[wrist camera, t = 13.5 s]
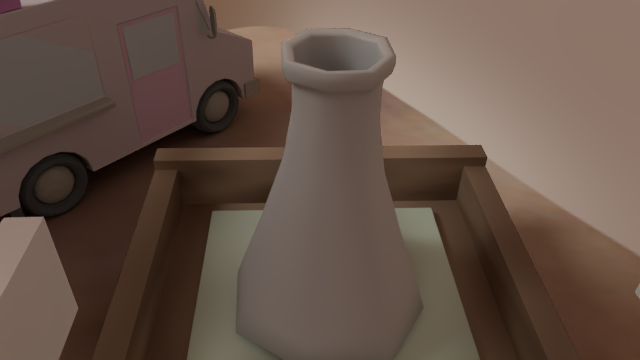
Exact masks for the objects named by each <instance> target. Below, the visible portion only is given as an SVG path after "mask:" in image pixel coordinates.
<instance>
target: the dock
mask: <svg viewBox="0 0 640 360" xmlns="http://www.w3.org/2000/svg"><path fill="white" fill-rule="evenodd" d="M284 149H285V147H236V148H157V151H156V154H155V157H154V160H153V163H154V168H155V171H154V174H153V177H152V180H151V183H150V186H149V189H148V192H147V195H146V198H145V201H144V204H143V207H142V210H141V213H140V216H139V219H138V222H137V225H136V228H135V231H134V234H133V237H132V240H131V243H130V246H129V249H128V252H127V255H126V258H125V261H124V264H123V267H122V270H121V273H120V276H119V279H118V282H117V285H116V288H115V291H114V294H113V297H112V300H111V303H110V306H109V309H108V312H107V315H106V318H105V321H104V324H103V327H102V330H101V333H100V336H99V339H98V342H97V345H96V348H95V351H94V354H93V357H92V360H283V359H282V358H280V357H278V356H276V355H275V354H273V353H271V352H269V351H267V350H266V349H264V348H262V347H260V346H258V345H257V344H255V343H253V342H251V341H250V340H248V339H246V338H244V337H242V336H241V335H239V334H237V333H236V306H237V279H238V270H239V268H240V265H241V262H242V260H243V257H244V255H245V252H246V250H247V248H248V245H249V243H250V241H251V238H252V236H253V234H254V231H255V229H256V227H257V224H258V222H259V220H260V217H261V215H262V212H263V210H264V207H265V204H266V202H267V199H268V196H269V193H270V191H271V188H272V185H273V183H274V180H275V177H276V175H277V172H278V169H279V166H280V164H281V161H282V158H283V155H284ZM382 151H383V161H384V171H385V175H386V179H387V183H388V186H389V190H390V194H391V197H392V201H393V205H394V208H395V212H396V216H397V220H398V223H399V227H400V231H401V234H402V237H403V240H404V243H405V247H406V250H407V253H408V256H409V259H410V263H411V266H412V269H413V272H414V275H415V279H416V282H417V285H418V288H419V292H420V295H421V299H422V303H423V306H424V308H423V310H422V312H421V313H420V315H419V317H418V318H417V320H416V322H415V324H414V325H413V327H412V329H411V330H410V332H409V334H408V335H407V337H406V339H405V341H404V342H403V344H402V346H401V347H400V349H399V351H398V353H397V354H396V356H395V358H394V359H393V360H580V358H579V356H578V354H577V352H576V350H575V348H574V346H573V344H572V342H571V340H570V338H569V336H568V334H567V332H566V330H565V327H564V325H563V323H562V321H561V319H560V317H559V315H558V313H557V311H556V309H555V307H554V305H553V303H552V301H551V299H550V297H549V295H548V293H547V291H546V289H545V287H544V285H543V283H542V281H541V279H540V277H539V275H538V273H537V271H536V269H535V267H534V265H533V262H532V260H531V258H530V256H529V254H528V252H527V250H526V248H525V246H524V244H523V242H522V240H521V238H520V236H519V234H518V232H517V230H516V228H515V226H514V224H513V222H512V220H511V218H510V216H509V214H508V212H507V210H506V208H505V206H504V204H503V202H502V200H501V197H500V195H499V193H498V191H497V189H496V187H495V185H494V183H493V181H492V179H491V177H490V175H489V173H488V171H487V169H486V167H485V165H486V161H487V156H486V154H485V152H484V150H483V148H482V146H481V145H441V146H382Z"/></svg>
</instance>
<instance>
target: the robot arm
mask: <svg viewBox="0 0 640 360" xmlns="http://www.w3.org/2000/svg"><path fill="white" fill-rule="evenodd" d="M635 293H636V295H637V296H638V298H639V299H640V283H639V285H638V287H637V289H636V290H635ZM77 311H78V306H77V303H76V301H75V298H74V295H73V293H72V290H71V287H70V285H69V282H68V279H67V277H66V274H65V272H64V269H63V266H62V264H61V261H60V258H59V256H58V253H57V250H56V248H55V245H54V243H53V240H52V237H51V235H50V232H49V229H48V227H47V224H46V221H45V219H44V217H7V218H3V220H2V221H1V223H0V360H59V358H60V355H61V353H62V350H63V347H64V345H65V342H66V339H67V337H68V334H69V332H70V329H71V326H72V324H73V321H74V318H75V316H76V313H77Z"/></svg>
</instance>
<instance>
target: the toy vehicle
mask: <svg viewBox="0 0 640 360" xmlns="http://www.w3.org/2000/svg"><path fill="white" fill-rule="evenodd" d="M209 12H210V18H209V15H208V12H207V9H206V6H205V4H204V1H203V0H0V217H1V216H3V215H5V214H7V213H9V214H10V215H11V216H12V217H25V216H24V214H23V211H22V209H21V206H22V207H23V208H24V209H26V210H27V211H29V212H31V213H33V214H36V215H39V216H47V217H49V216H54V215H59V214H63V213H65V212H66V211H68V210H70V209H71V208H73V207H74V206H75V205H76V204H77V203H78V202H79V201H80V199H81V198H82V197H83V195H84V192H85V190H86V187H87V184H88V178H87V171H86V169H85V167H87V168H89V169H90V170H92V171H96V170H98V169H100V168H102V167H104V166H106V165H108V164H110V163H112V162H114V161H116V160H118V159H120V158H122V157H124V156H126V155H128V154H130V153H132V152H135V151H137V150H139V149H141V148H143V147H145V146H147V145H149V144H151V143H153V142H155V141H157V140H159V139H161V138H163V137H165V136H167V135H169V134H171V133H173V132H175V131H177V130H179V129H181V128H183V127H185V126H187V125H189V124H191V123H192V125H193V126H195V127H196V128H198V129H199V130H201V131H204V132H209V133H215V132H218V131H222V130H223V129H224V128H226V127H227V126H228V125H229V124H230V123H231V122H232V120H233V119H234V117H235V115H236V113H237V109H238V103H239V99H238V96H239V97H242V98H244V97H246V98H247V97H249V96H251V95H253V94H255V93H257V92H259V90H260V82H259V79H257V78H254V68H253V51H252V41H251V40H249V39H247V38H244V37H242V36H239V35H236V34H234V33H231V32H229V31H226V30H223V29H221V28H218V27H217V22H216V13H215V9H214V8H213V7H212V6H210V8H209ZM84 166H85V167H84ZM34 196H35V197H36V198H35V197H34ZM20 205H21V206H20Z"/></svg>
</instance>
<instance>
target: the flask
mask: <svg viewBox="0 0 640 360" xmlns="http://www.w3.org/2000/svg"><path fill="white" fill-rule="evenodd" d="M281 55H282V66H283V73H284V77H285V79H286V80H287V82H291V83H292V110H291V116H290V121H289V127H288V133H287V138H286V144H285V149H284V155H283V158H282V161H281V164H280V166H279V169H278V172H277V175H276V177H275V180H274V183H273V185H272V188H271V191H270V193H269V196H268V199H267V202H266V204H265V207H264V210H263V212H262V215H261V217H260V220H259V222H258V224H257V227H256V229H255V231H254V234H253V236H252V238H251V241H250V243H249V245H248V248H247V250H246V252H245V255H244V257H243V260H242V262H241V265H240V268H239V270H238V279H237V306H236V333H237V334H239V335H241V336H242V337H244V338H246V339H248V340H250V341H251V342H253V343H255V344H257V345H258V346H260V347H262V348H264V349H266V350H267V351H269V352H271V353H273V354H275V355H276V356H278V357H280V358H282V359H283V360H393V359H394V358H395V356H396V354H397V353H398V351H399V349H400V347H401V346H402V344H403V342H404V341H405V339H406V337H407V335H408V334H409V332H410V330H411V329H412V327H413V325H414V324H415V322H416V320H417V318H418V317H419V315H420V313H421V312H422V310H423V308H424V306H423V303H422V299H421V295H420V292H419V288H418V285H417V282H416V279H415V275H414V272H413V269H412V266H411V263H410V259H409V256H408V253H407V250H406V247H405V243H404V240H403V237H402V234H401V231H400V227H399V223H398V220H397V216H396V212H395V208H394V205H393V201H392V197H391V194H390V190H389V186H388V183H387V179H386V175H385V171H384V161H383V151H382V141H381V130H380V108H381V96H382V86H383V81H384V79H386V78H387V77H388V76H389V75H390V74H391V73H392V72H393V69H394V67H395V63H396V55H395V53H394V51H393V49H392V47H391V45H390V43H389V41H388V39H387V37H383V36H379V35H375V34H371V33H367V32H362V31H358V30H354V29H350V28H329V29H305V30H303V31H302V32H300V33H298V34H296V35H295V36H293V37H291V38H289V39H288V40H286V41H284V42H283V43H281Z"/></svg>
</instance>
